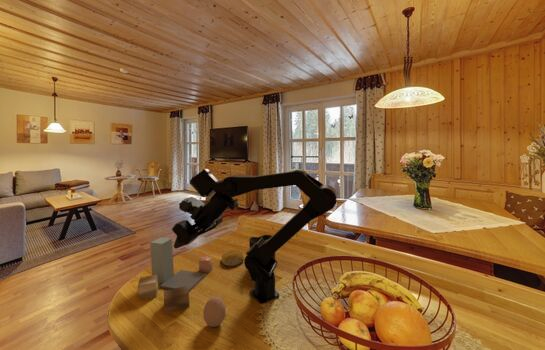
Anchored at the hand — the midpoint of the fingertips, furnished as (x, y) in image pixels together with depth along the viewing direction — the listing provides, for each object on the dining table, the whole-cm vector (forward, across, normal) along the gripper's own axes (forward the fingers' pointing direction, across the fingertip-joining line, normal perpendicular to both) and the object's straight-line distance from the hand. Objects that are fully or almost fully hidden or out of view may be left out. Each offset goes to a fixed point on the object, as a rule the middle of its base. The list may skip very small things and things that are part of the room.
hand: (184, 241), depth 73 cm
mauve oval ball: (-3, +14, +22) cm, 27 cm away
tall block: (+15, 0, +3) cm, 16 cm away
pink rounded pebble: (+8, -8, +10) cm, 16 cm away
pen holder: (-4, -17, +24) cm, 29 cm away
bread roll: (+4, -17, +15) cm, 23 cm away
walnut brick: (+6, +11, +13) cm, 18 cm away
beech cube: (+14, +8, +4) cm, 17 cm away
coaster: (+10, 0, +8) cm, 13 cm away
